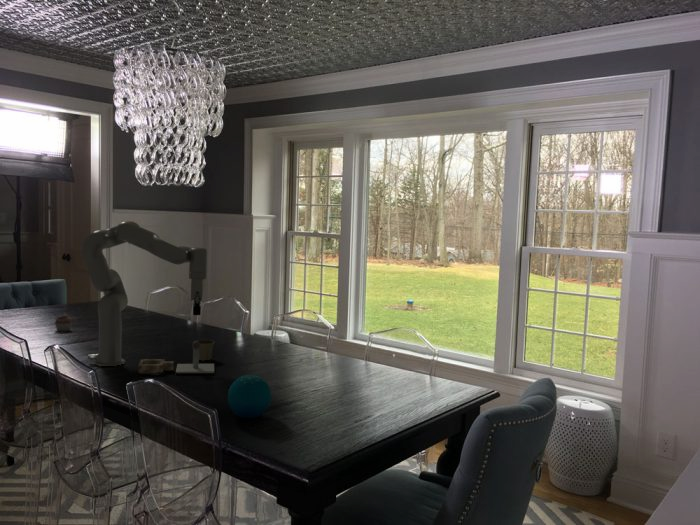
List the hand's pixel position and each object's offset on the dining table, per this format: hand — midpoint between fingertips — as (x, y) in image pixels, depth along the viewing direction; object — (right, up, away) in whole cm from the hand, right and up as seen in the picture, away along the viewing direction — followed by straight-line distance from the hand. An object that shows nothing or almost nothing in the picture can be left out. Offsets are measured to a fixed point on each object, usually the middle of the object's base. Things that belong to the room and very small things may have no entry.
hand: (196, 313), depth 272 cm
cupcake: (-89, -15, +61) cm, 109 cm away
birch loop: (-15, -24, -9) cm, 30 cm away
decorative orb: (+34, -32, -61) cm, 76 cm away
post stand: (+1, -25, -5) cm, 26 cm away
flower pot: (0, -24, +14) cm, 28 cm away
